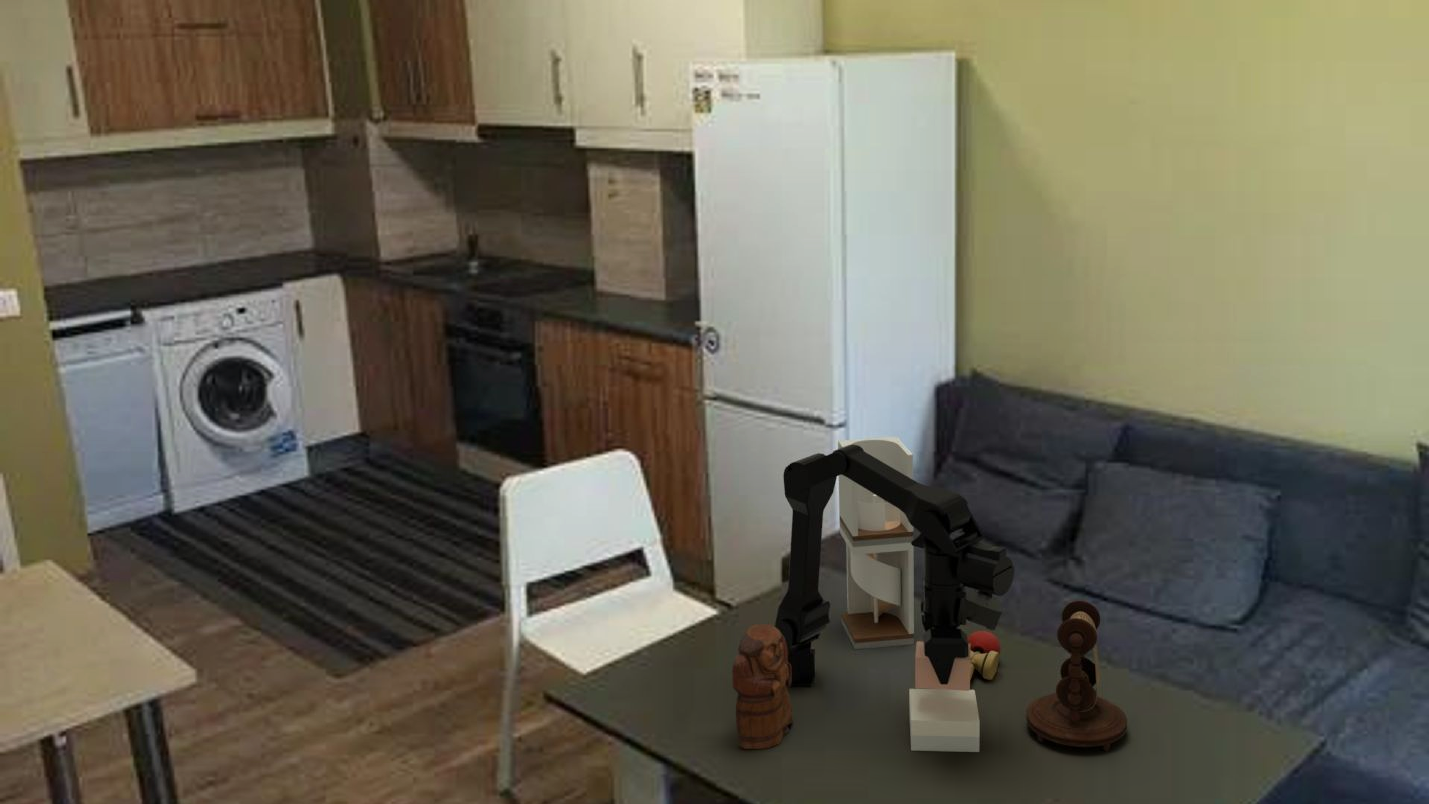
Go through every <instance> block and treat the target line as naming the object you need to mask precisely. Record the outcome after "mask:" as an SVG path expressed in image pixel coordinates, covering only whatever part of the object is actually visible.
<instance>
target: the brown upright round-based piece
mask: <svg viewBox="0 0 1429 804" xmlns="http://www.w3.org/2000/svg"><path fill="white" fill-rule="evenodd" d="M1061 621H1062V622H1061V623H1060V625H1059V627H1058V628H1057V631H1056V632H1057V633H1056V635H1057V636H1056V638H1057V641H1058V643H1059V645H1060V646H1061V647H1062V648H1063V649H1064V650H1065V651H1066V652H1067V653H1068V654H1069V655H1070V657H1068V658H1066V659H1065V660H1064V661H1063V663H1062V664H1061V666H1060V673H1059V674H1060V678H1061V679H1060V680H1059V681H1058V682H1057V685H1056V688H1055V692H1054V693H1050V694H1047V695H1043V696H1041V697H1038V698H1037V699H1034V700H1033V701H1032V702H1031V703H1030V704H1029V705H1028V706H1027V708H1026V716H1025V717H1026V718H1025V719H1026V723H1027V726H1028V727H1029V728H1030V730H1031V731H1033V732H1034V733H1035V735H1036V736H1037V740H1038V741H1039V742H1040V743H1042V742H1043V741H1044V739H1045V740H1048V741H1050V742H1053V743H1056V744H1060V745H1064V746H1070V747H1080V748H1081V747H1082V748H1089V747H1091V748H1093V747H1101V746H1102V748H1103V750H1104V752H1105V751H1106V752H1108V750H1109V749H1110V747H1111V744H1112V743H1114V742H1117V741H1118V740H1120V739H1122V738H1123V737H1124V736H1125V735H1126V733H1127V730H1128V718H1127V714H1126V713H1125V712H1124V710H1123V709H1121V708H1120V707H1119V706H1117V705H1116V704H1114V703H1113V702H1111V701H1109V700H1107V699H1105V698H1103V697H1100V696H1098V693H1099V692H1098V691H1099V687H1100V681H1101V680H1100V679H1101V671H1100V670H1101V669H1100V663H1099V656H1098V648H1097V647H1098V646H1097V641H1098V634H1097V630H1098V629H1099V626H1100V625H1101V615H1100V612H1099V610H1098V608H1096V606H1094V605H1093V604H1092V603H1090V602H1088V601H1086V600H1073V601H1070V602H1069V603H1068V604H1066V605H1065V607H1064V608H1063V610H1062V612H1061ZM1091 651H1092V654H1093V660H1094V662H1093V661H1092V660H1091V659H1090V658H1087V657H1086V655H1087V654H1088V653H1089V652H1091ZM1094 686H1096V688H1094Z"/></svg>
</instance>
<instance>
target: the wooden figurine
mask: <svg viewBox="0 0 1429 804" xmlns="http://www.w3.org/2000/svg"><path fill="white" fill-rule="evenodd" d="M774 626H775V625H774ZM774 626H773V625H770V624H766V623H760V624H759V623H758V624H755V625H752V626H751V627H749V628H748V629H747V630H746V631H745V632H744V634H742V637H741V639H740V640H739V641H740V642H739V645H738V653H737V655H736V656H735V659H734V661H733V664H732V688H733V689H734V691H735V692H736V693H737V694H738V695H737V697H736V703H735V723H736V724H735V725H736V732H737V736H738V742H739V745H740V747H741V748H742V749H745V750H762V749H768V748H772V747H774V746H777V745H779V744H781V743H782V741H783V738H784V737H785V736H786V735H787V734H788V733H789V731H790V728H789V725H790V724H792V723H793V710H792V705H791V698H790V694H789V689H790V687H792V686H791V681H792V672H791V664H790V663H789V662H788V649H787V644H786V640H785V637H784V636H783V635H782V633H781V632H780V631H779V630H778V629H777V628H776V627H774Z"/></svg>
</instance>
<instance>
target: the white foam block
mask: <svg viewBox="0 0 1429 804" xmlns="http://www.w3.org/2000/svg"><path fill="white" fill-rule="evenodd" d="M908 692H909V695H908V700H909V701H908V705H909V713H908V715H909V717H908V718H909V731H910V732H909V733H910V734H909V736H910V750H911V751H913V752H914V751H915V752H916V751H918V752H919V751H920V752H959V753H960V752H962V753H963V752H964V753H966V752H967V753H968V752H969V753H980V729H981V727H980V721H981V720H980V716H979V715H980V714H979V708H978V703H977V702H978V701H977V697H976V691H975V689H970V691H964V690H945V689H926V688H909V690H908Z"/></svg>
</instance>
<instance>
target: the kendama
mask: <svg viewBox="0 0 1429 804" xmlns="http://www.w3.org/2000/svg"><path fill="white" fill-rule="evenodd" d="M967 638H968V644H970V681H971V679H972V677H973V674H974V672H975V670H977V671H978V672H979V673H980V675H981V676H982V678H983V679H985V680H987V681H988V680H989V681H991V680H992V679H993V678H994V676H995V674H996V672H997V669H998V666H999V661H1000V655H1001V644H1000V641H999V639H998V638H997V637H996V635H994V634H993V633H992V632H990V631H988V630H987V631H986V630H977V631H975V632H972V633H971V634H969V636H967Z"/></svg>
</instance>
